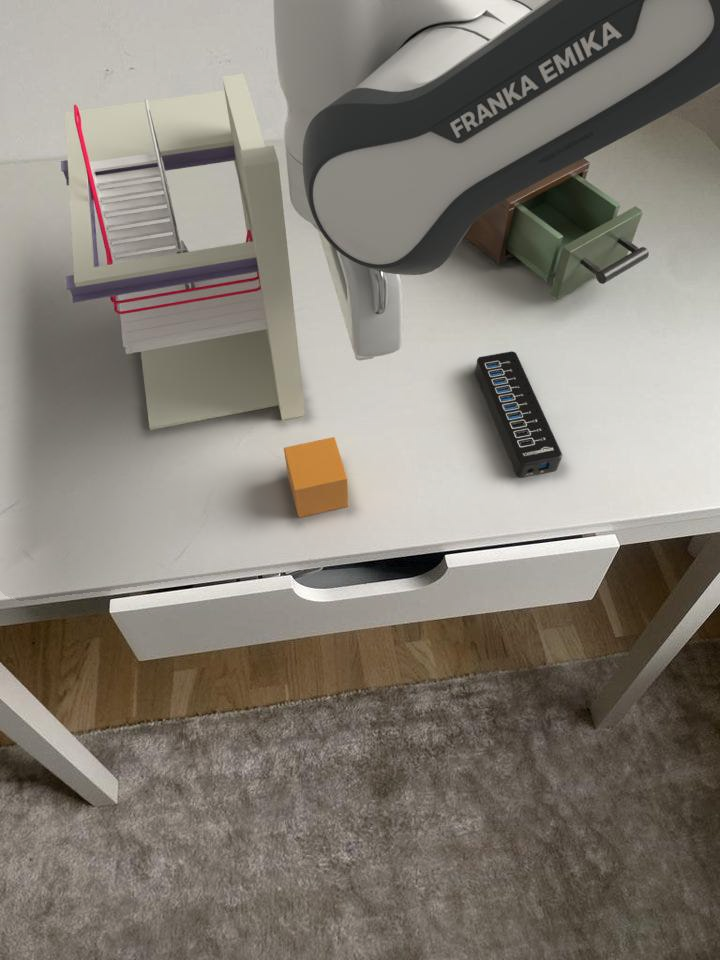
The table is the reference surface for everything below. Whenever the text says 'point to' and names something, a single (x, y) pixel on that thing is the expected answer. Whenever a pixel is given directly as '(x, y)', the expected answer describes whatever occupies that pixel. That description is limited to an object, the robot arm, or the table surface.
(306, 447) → the block
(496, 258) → the cabinet
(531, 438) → the multiport hub
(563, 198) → the drawer
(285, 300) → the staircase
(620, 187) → the table surface
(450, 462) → the table surface
